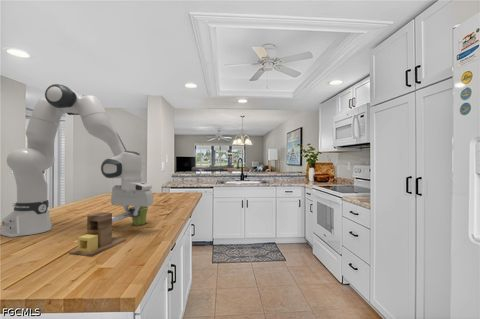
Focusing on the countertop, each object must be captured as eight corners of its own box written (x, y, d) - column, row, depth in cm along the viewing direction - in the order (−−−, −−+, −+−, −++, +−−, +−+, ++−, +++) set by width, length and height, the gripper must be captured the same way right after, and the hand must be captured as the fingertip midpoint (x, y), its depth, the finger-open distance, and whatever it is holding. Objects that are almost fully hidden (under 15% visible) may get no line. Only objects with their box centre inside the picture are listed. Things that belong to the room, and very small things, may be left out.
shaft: (103, 229, 97) (103, 219, 97) (94, 228, 98) (94, 218, 98) (140, 215, 121) (140, 207, 121) (133, 215, 121) (133, 207, 121)
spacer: (89, 252, 90) (89, 238, 90) (77, 251, 91) (77, 237, 91) (97, 248, 94) (98, 235, 94) (86, 247, 95) (86, 234, 95)
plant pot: (141, 226, 127) (142, 209, 127) (125, 225, 129) (125, 208, 129) (151, 222, 136) (152, 206, 136) (136, 221, 138) (136, 205, 138)
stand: (68, 253, 91) (69, 218, 91) (105, 238, 108) (105, 209, 108) (92, 256, 88) (92, 220, 88) (126, 240, 106) (126, 210, 106)
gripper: (107, 185, 116) (107, 215, 116) (147, 187, 112) (147, 217, 112) (117, 184, 123) (117, 212, 123) (154, 185, 118) (154, 214, 118)
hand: (131, 215), depth 117 cm, fingers closed on shaft, 2 cm apart
